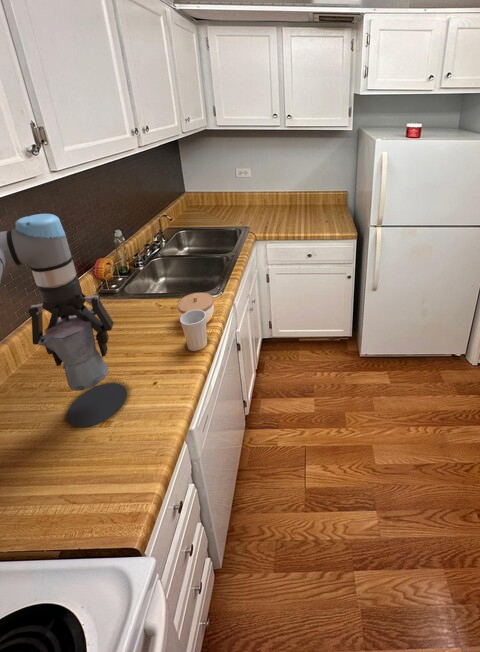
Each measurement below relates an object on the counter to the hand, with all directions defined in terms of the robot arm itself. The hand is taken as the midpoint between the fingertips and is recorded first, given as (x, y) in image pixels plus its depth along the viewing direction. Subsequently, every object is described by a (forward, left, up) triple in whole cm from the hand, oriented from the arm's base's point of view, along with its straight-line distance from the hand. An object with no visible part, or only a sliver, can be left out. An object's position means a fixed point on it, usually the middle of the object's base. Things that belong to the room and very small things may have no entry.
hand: (83, 357), depth 84 cm
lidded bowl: (+26, +30, -17) cm, 43 cm away
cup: (+26, +16, -17) cm, 35 cm away
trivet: (0, 0, -17) cm, 17 cm away
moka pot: (0, 0, -7) cm, 7 cm away
